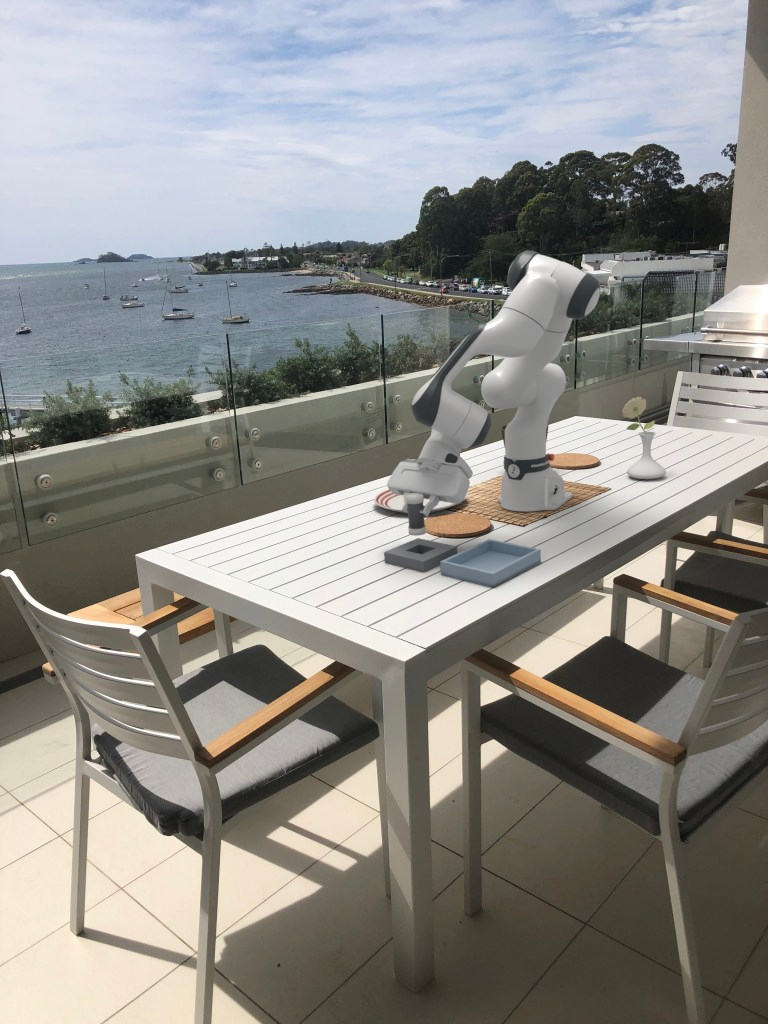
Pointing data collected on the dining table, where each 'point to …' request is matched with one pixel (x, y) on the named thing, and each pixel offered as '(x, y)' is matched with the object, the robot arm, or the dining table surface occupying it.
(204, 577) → the dining table surface
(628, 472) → the flower in vase
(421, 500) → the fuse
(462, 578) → the parts tray
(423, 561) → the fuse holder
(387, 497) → the dinner plate
